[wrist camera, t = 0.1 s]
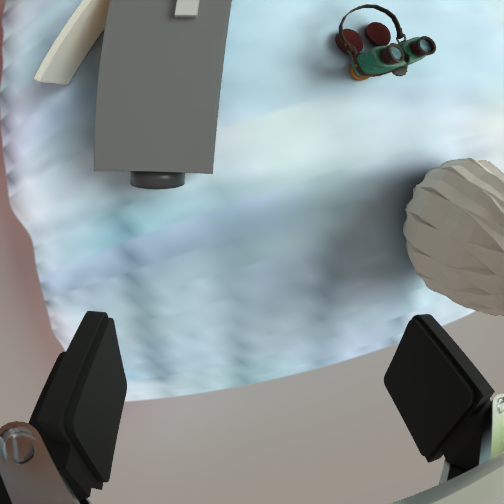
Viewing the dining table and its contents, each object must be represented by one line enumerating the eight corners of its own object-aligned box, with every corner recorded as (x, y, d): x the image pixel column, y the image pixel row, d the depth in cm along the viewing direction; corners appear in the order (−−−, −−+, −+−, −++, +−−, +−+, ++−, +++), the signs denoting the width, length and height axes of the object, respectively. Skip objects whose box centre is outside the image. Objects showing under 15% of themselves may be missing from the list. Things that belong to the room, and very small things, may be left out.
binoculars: (409, -17, 20) (451, 62, 23) (372, 11, 30) (404, 75, 33) (344, -8, 21) (390, 79, 24) (316, 25, 31) (351, 92, 34)
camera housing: (134, -7, 26) (115, -34, 18) (232, -7, 28) (237, -37, 20) (116, 177, 36) (91, 195, 28) (212, 180, 38) (210, 199, 30)
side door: (124, -15, 25) (106, -37, 18) (134, -10, 26) (118, -33, 19) (58, 79, 29) (28, 76, 22) (68, 85, 30) (39, 81, 23)
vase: (359, 233, 43) (502, 386, 16) (430, 120, 37) (618, 172, 9) (433, 286, 49) (540, 403, 22) (492, 195, 43) (622, 272, 15)
